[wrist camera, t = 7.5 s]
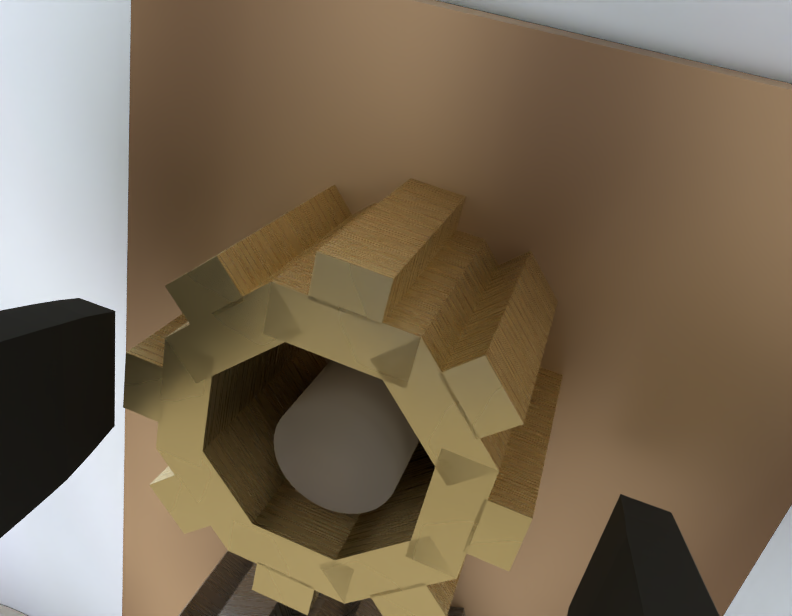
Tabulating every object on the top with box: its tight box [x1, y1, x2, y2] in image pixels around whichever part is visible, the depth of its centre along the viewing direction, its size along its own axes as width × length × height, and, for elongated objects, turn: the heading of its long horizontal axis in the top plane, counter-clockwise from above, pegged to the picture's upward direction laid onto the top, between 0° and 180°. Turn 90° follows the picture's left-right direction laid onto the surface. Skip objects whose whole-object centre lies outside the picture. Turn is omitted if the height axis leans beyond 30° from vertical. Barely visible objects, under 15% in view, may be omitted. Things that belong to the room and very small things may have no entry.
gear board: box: [122, 0, 792, 616], centre depth 13 cm, size 12×18×4 cm, turn 170°
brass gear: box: [123, 178, 563, 616], centre depth 10 cm, size 6×6×4 cm
